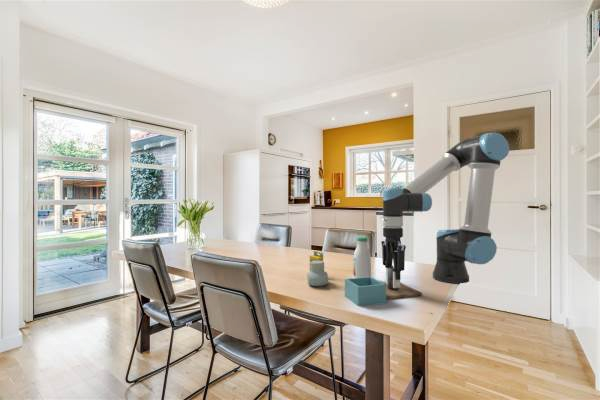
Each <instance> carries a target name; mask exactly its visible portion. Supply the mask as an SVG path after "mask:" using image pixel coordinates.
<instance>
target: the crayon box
mask: <svg viewBox="0 0 600 400" xmlns="http://www.w3.org/2000/svg"><path fill="white" fill-rule="evenodd" d="M312 261H323V262H324V253H323V252H318V251H316V250H314V251H313V254H312V255H309V272H310V271H311V262H312Z"/></svg>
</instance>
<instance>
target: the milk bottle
mask: <svg viewBox="0 0 600 400" xmlns="http://www.w3.org/2000/svg"><path fill="white" fill-rule="evenodd" d="M356 242H357V245H356V247H355V250H354V252H353V278H362V277H372V257H371V252H370V249H369V247H368V237H366V236H358V237H357V238H356Z"/></svg>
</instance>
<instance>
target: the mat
mask: <svg viewBox="0 0 600 400" xmlns="http://www.w3.org/2000/svg"><path fill="white" fill-rule="evenodd" d="M418 297H423V294H422V295H419V296H410V297H401V298H393V299H386V301H390V300H391V301H392V300H401V299H410V298H418Z"/></svg>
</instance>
